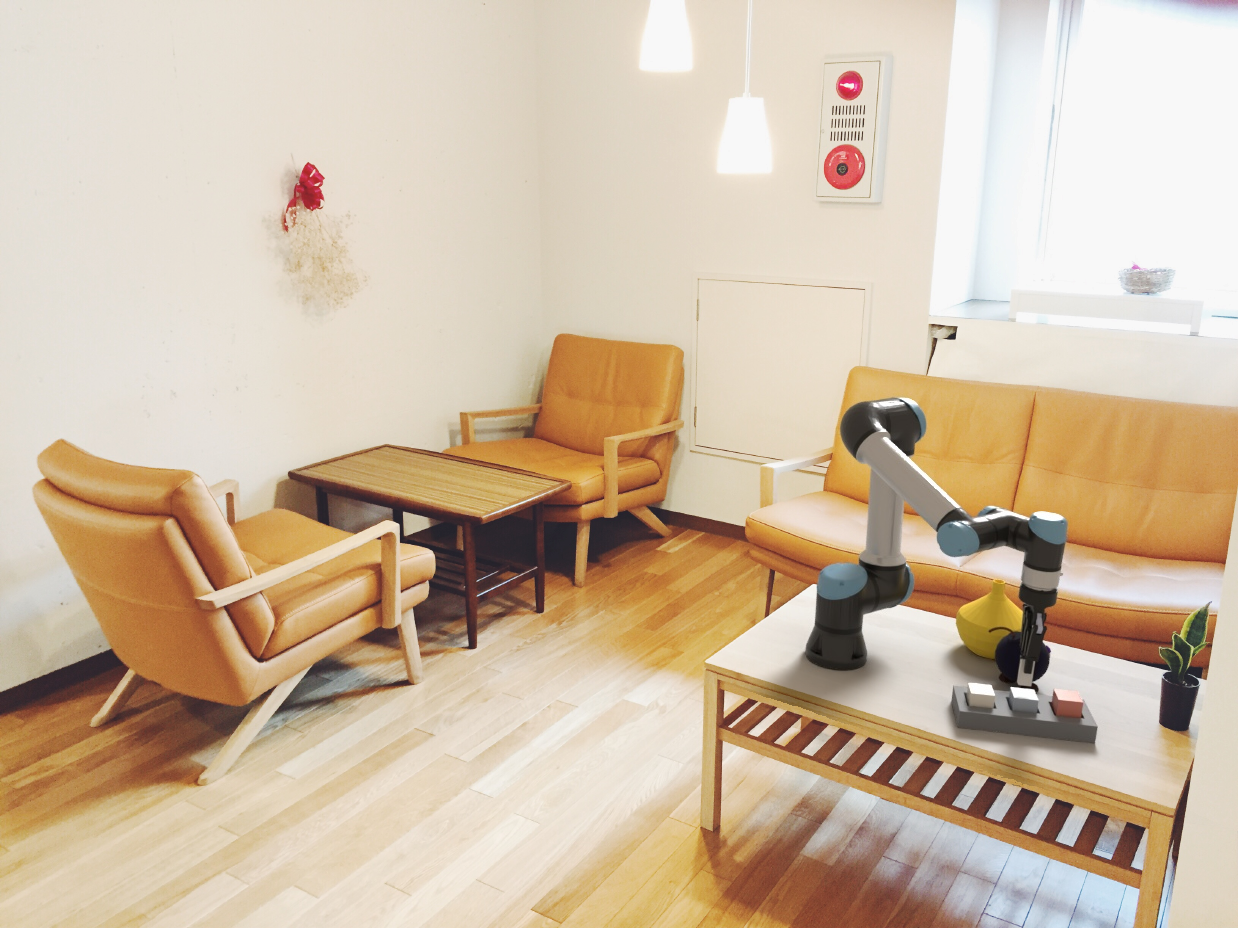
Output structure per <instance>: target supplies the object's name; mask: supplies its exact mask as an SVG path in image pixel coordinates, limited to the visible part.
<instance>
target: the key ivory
mask: <svg viewBox="0 0 1238 928" xmlns="http://www.w3.org/2000/svg"><path fill="white" fill-rule="evenodd" d="M966 687H967V696H966V699H967V703H968V706H975V707H984V708H994V700H995V694H994V691H993V690H994V689H993V685H991V684H984V683H976V682H967V686H966Z"/></svg>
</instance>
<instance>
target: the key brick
mask: <svg viewBox="0 0 1238 928" xmlns="http://www.w3.org/2000/svg"><path fill="white" fill-rule="evenodd" d="M1052 691H1053V692H1052V696H1053V697H1052V704H1051V705H1052V707H1053V710H1054V712H1055V714H1056V716H1065V717H1074V718H1081V715H1082V708H1083V701H1082V699H1083V698H1082V697H1081V695H1080V693H1079V691H1078V690H1067V689H1059V688H1053V690H1052Z"/></svg>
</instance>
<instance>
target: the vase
mask: <svg viewBox="0 0 1238 928" xmlns="http://www.w3.org/2000/svg"><path fill="white" fill-rule="evenodd" d="M1005 588H1006V581H1005V580H1003V579H999V578H994V579H992V587H991V591H990V592H989V593H988V594H985V595H984V596H982V597H979V598H977V599H976V600H973V601H971V602H969V603H966V604H963V605H962V606H961V607H960V608H959V609H958V611H957V613H956V616H955V626H956V628H957V632H958V635H959V638H960V640H961V641H962V642H963V644H964V645H965V646H966V647H967V648H968V649H969V650H970V651H971V652H973V653H974V654H975V655H977V656H980V657H983V658H986V659H991V660H995V650H996V647H997V645H998V643H999V642H1000V640H1001V639H1002V638H1003V637H1005V636H1006V635H1008V634H1009V633H1010V632H1009V631H1007V630H1004V629H999V630H994V631H992V632H991V633H990V632H989V630H990V629H992V628H995V627H1007V628H1009V629H1011V630H1012V631H1013V632H1014V631H1018V632H1021V628H1022V617H1023V609H1021V608H1020V607H1019V606H1017V605H1016V604H1015V603H1014V602H1013V601H1011V599H1010V598H1008V597H1007V595H1006V594H1005V590H1006V589H1005Z"/></svg>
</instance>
